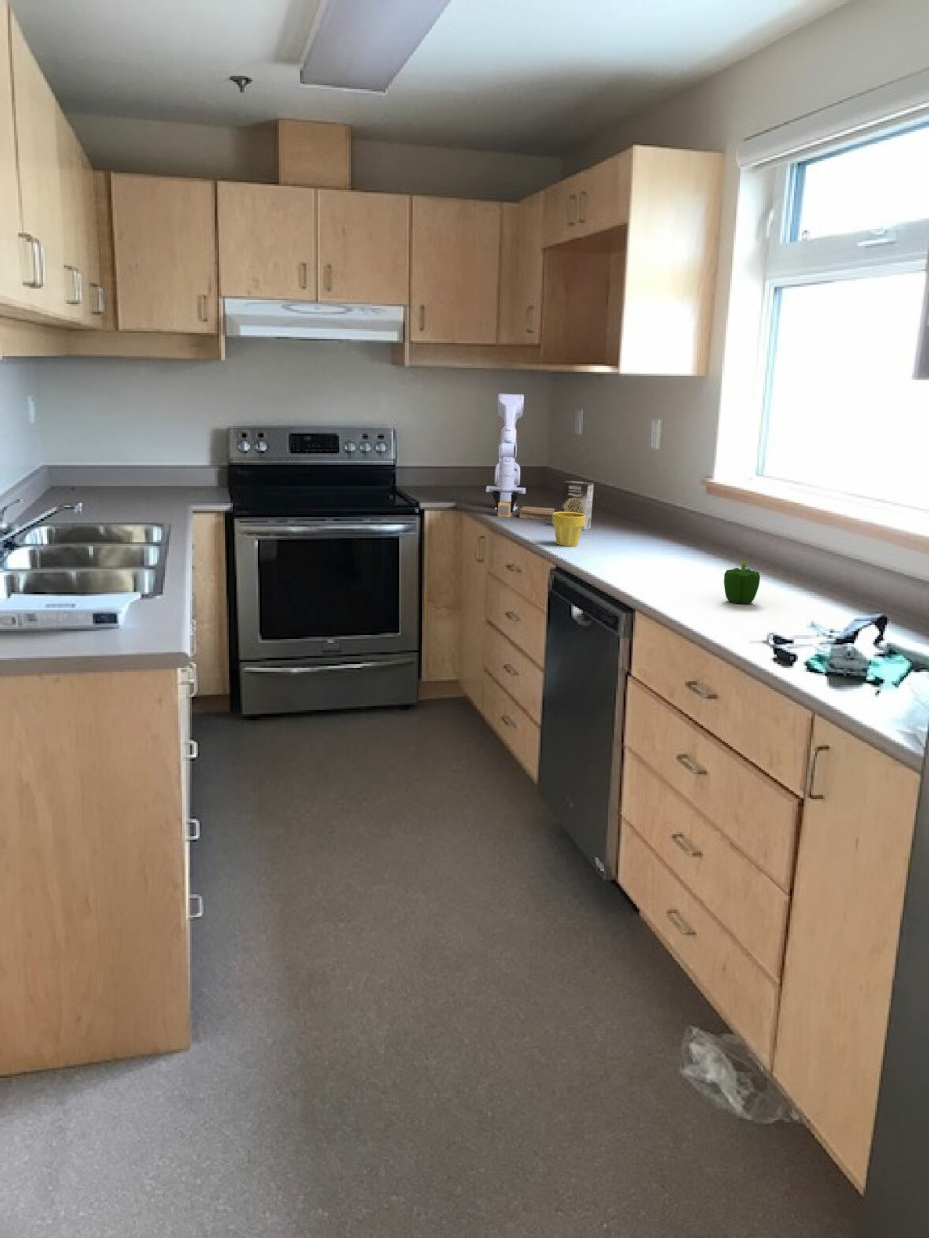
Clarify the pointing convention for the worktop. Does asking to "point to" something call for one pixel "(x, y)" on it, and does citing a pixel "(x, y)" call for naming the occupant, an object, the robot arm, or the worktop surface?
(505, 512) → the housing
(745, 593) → the bell pepper
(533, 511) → the stand
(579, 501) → the brown cookie box
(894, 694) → the worktop surface
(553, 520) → the plant pot
